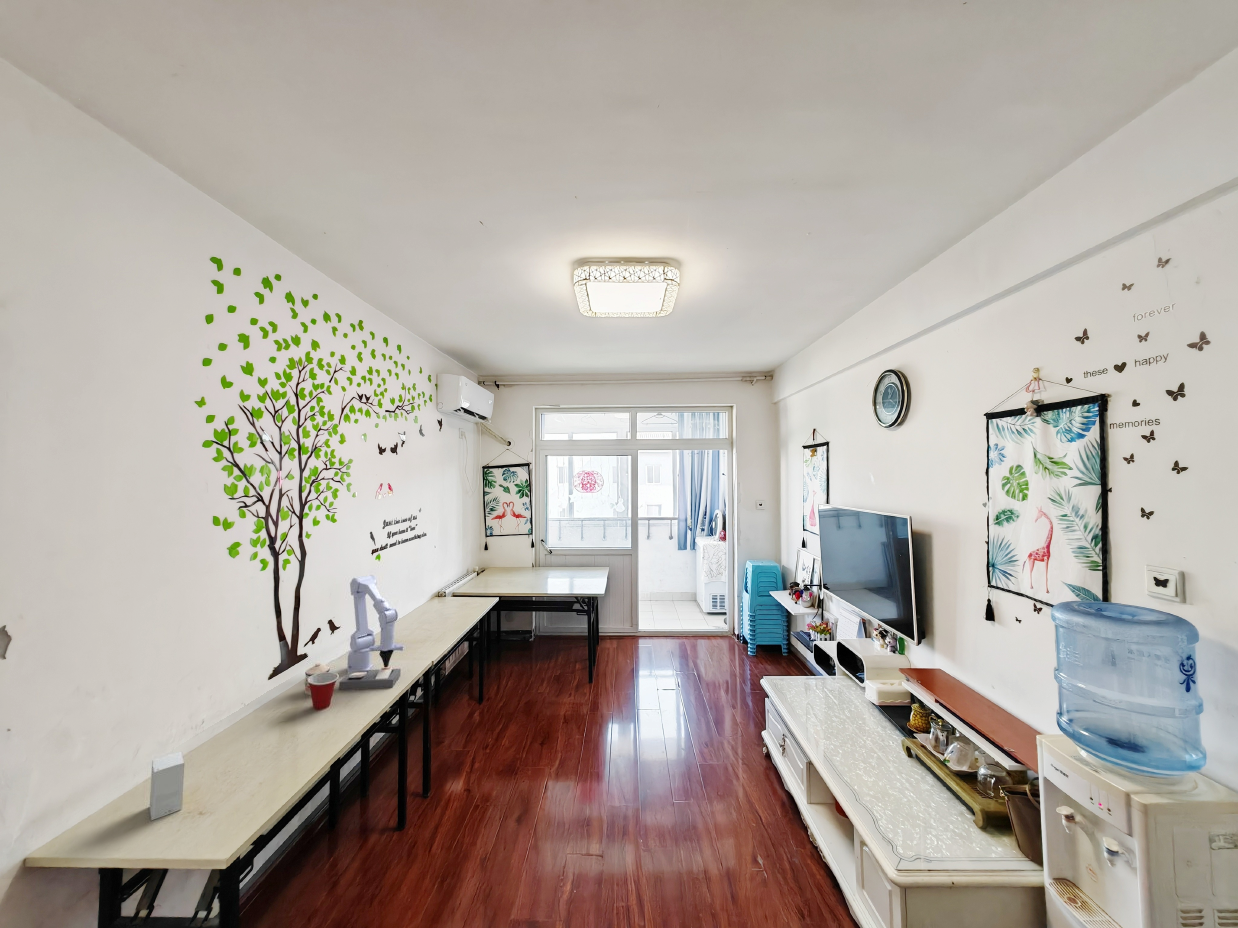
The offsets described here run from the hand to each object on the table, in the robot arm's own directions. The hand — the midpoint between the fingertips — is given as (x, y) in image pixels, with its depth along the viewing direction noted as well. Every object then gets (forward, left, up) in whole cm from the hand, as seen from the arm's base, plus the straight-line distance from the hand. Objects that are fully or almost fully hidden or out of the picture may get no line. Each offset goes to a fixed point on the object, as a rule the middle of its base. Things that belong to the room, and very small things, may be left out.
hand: (386, 666), depth 219 cm
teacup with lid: (-24, -9, -6) cm, 26 cm away
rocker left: (-11, -3, -2) cm, 12 cm away
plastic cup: (-17, -24, -6) cm, 30 cm away
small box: (-34, -81, -6) cm, 88 cm away
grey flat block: (-6, -3, -6) cm, 9 cm away
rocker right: (0, -3, -2) cm, 4 cm away
